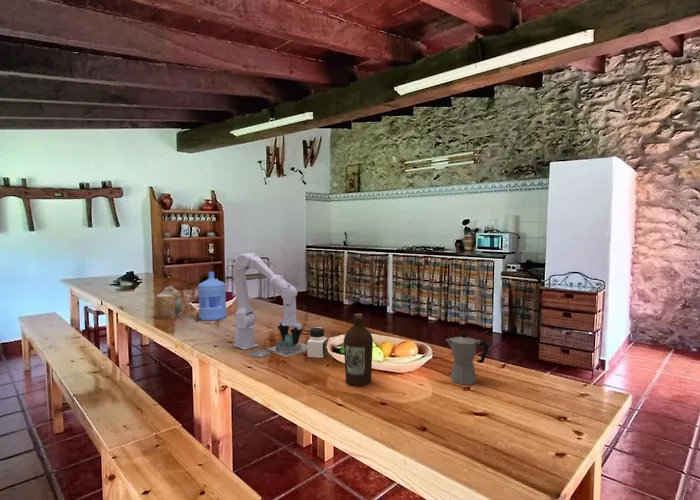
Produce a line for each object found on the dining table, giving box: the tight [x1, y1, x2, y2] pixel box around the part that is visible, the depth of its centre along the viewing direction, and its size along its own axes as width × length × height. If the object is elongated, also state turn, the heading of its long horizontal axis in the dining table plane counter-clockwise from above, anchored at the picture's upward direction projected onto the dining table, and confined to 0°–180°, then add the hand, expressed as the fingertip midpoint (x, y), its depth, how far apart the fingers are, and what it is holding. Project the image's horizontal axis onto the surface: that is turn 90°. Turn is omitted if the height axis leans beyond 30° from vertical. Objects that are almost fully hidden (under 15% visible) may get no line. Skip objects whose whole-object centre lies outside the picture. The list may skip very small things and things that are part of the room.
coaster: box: [249, 349, 272, 358], centre depth 184 cm, size 9×9×1 cm
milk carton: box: [156, 284, 183, 321], centre depth 252 cm, size 11×11×19 cm
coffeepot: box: [445, 331, 490, 386], centre depth 151 cm, size 15×9×18 cm, turn 68°
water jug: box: [197, 271, 227, 322], centre depth 250 cm, size 16×16×28 cm
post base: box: [266, 339, 307, 358], centre depth 189 cm, size 14×16×5 cm
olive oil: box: [343, 313, 374, 387], centre depth 151 cm, size 11×11×25 cm
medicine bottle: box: [306, 326, 328, 359], centre depth 181 cm, size 7×7×12 cm
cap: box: [280, 333, 295, 346], centre depth 188 cm, size 5×8×4 cm, turn 137°
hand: (290, 342), depth 189 cm, fingers open, 7 cm apart
